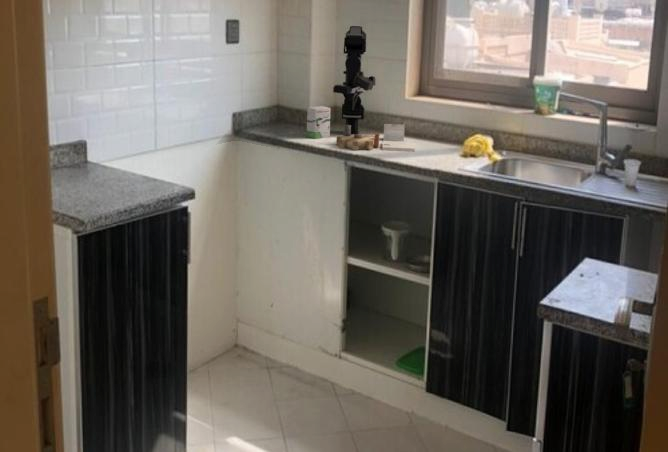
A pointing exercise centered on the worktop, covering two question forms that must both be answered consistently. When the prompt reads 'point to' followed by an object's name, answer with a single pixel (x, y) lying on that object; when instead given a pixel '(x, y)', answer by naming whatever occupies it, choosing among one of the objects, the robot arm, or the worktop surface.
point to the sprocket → (357, 140)
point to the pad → (398, 146)
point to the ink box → (318, 122)
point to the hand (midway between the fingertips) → (351, 110)
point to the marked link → (393, 132)
